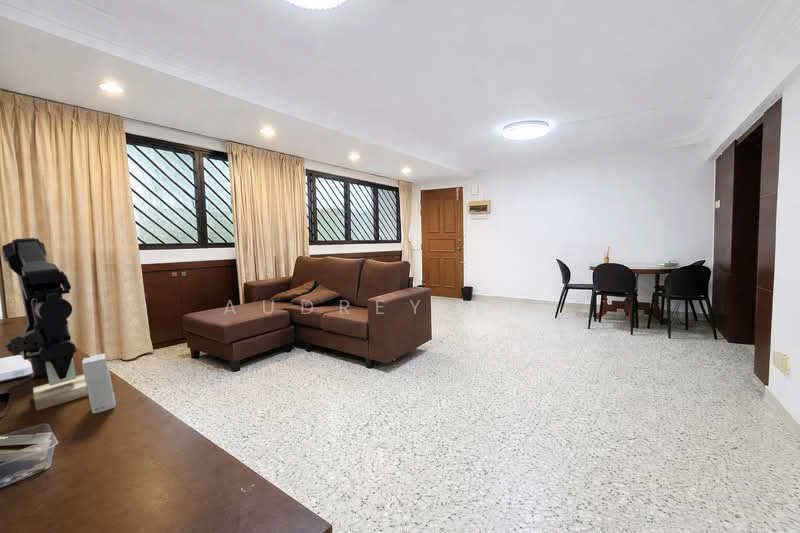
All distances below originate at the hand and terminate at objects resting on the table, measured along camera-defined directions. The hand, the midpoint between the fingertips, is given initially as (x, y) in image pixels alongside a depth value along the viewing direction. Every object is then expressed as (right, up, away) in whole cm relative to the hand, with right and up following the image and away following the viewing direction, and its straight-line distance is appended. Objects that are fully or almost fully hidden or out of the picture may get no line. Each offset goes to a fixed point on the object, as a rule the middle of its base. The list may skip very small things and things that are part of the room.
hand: (61, 376), depth 92 cm
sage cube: (0, -1, 0) cm, 1 cm away
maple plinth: (0, -5, +1) cm, 5 cm away
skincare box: (+17, -5, -8) cm, 20 cm away
